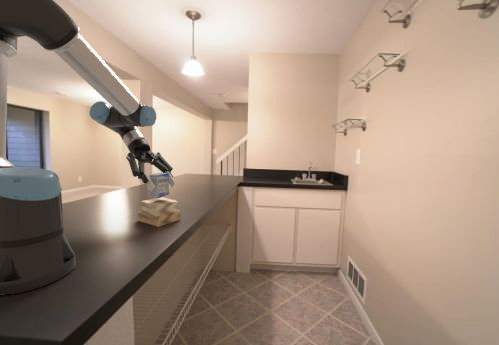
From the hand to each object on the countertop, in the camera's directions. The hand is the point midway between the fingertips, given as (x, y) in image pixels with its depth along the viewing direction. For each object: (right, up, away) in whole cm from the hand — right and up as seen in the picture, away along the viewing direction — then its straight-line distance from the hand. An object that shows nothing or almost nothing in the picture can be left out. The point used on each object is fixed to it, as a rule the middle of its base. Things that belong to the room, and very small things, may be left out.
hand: (164, 187), depth 87 cm
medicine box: (-3, -4, +2) cm, 5 cm away
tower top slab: (-3, -9, +3) cm, 10 cm away
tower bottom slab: (-3, -13, +3) cm, 14 cm away
